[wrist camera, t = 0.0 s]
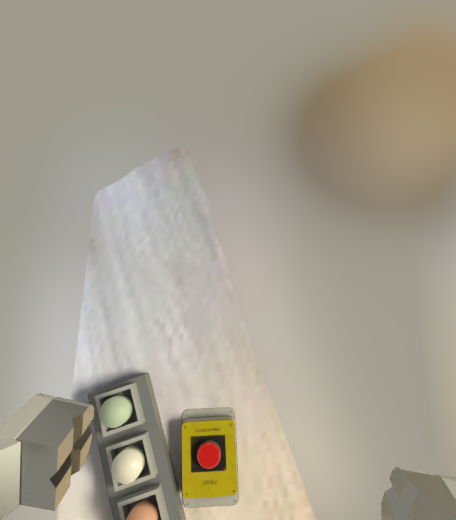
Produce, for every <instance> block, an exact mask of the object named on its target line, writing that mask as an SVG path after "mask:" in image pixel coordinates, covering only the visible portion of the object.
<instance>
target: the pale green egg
mask: <svg viewBox="0 0 456 520" xmlns="http://www.w3.org/2000/svg"><path fill="white" fill-rule="evenodd" d="M132 413H133V404H132V401H131V400H130V399H129V398H128V397H127V396H125V395H117V396H114V397H112V398H110V399H108V400H106V401H105V402H104V403H103V405H102V406H101V409H100V419H101V421H102V423H103V424H104V425H105V426H107V427H109V428H116V427H119V426H121V425H122V424H123V423H125V422H126V421H127V420H128V419H129V418H130V417H131V415H132Z"/></svg>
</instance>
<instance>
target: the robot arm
mask: <svg viewBox="0 0 456 520" xmlns="http://www.w3.org/2000/svg"><path fill="white" fill-rule="evenodd" d="M93 418H94V407H93V406H92V405H90V404H86V403H82V402H77V401H73V400H69V399H64V398H60V397H54V396H49V395H45V394H41V393H40V394H37V395H35V396H34V397H32V399H31V400H29V401H28V402H27V403H26V404H25V405H24V406H23V407H22V408H21V410H19V411H18V412H17V413H16V414H15V415H14V416H13V417H12V418H11V419H10V420H9V421H8V422H7V423H6V424H5V425H4V426H3V427H2V428H1V429H0V520H2V519H3V518H4V517H5V516H7V515H9V514H10V513H11V512H13V511H14V510H16V509H17V508H18V507H19V505H25V506H30V507H36V508H41V509H47V510H53V511H55V509H56V508H57V506H58V505H59V503H60V501H61V500H62V498H63V496H64V495H65V493H66V492H67V490H68V488H69V487H70V478H71V475H73V474H75V473H76V472H78V471H79V470H80V468H81V467H82V465H83V463H84V462H85V459H86V457H87V454H88V452H89V449H90V445H91V441H92V430H91V429H90V427H89V424H90V423H91V421H92V420H93ZM390 481H391V483H392V485H393V487H392V488H390V489H389V490H387V491H386V492H385V493H384V496H383V499H382V503H381V507H382V508H381V516H382V520H456V478H454V477H448V476H443V475H438V474H430V473H426V472H420V471H415V470H410V469H405V468H400V467H396V468H395V469H394V470H393V471H392V473H391V476H390Z"/></svg>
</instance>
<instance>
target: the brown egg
mask: <svg viewBox="0 0 456 520" xmlns="http://www.w3.org/2000/svg"><path fill="white" fill-rule="evenodd" d="M158 518H159V514H158V509H157V507H156V506H155V504H154V503H152V502H151V501H148V500H142V501H139V502H138V503H136V504H135V505H134V506H133V508H132V510H131V511H130V513H129V515H128V516H127V518H126V520H158Z"/></svg>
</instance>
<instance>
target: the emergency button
mask: <svg viewBox="0 0 456 520" xmlns="http://www.w3.org/2000/svg"><path fill="white" fill-rule="evenodd" d="M182 493H183V503H184V505H185V506H186V507H188V508H195V507H212V506H230V505H235V504H237V502H238V500H239V487H238V466H237V444H236V423H235V412H234V410H233V409H232V408H230V407H228V408H208V409H188V410H185V411H184V412H183V415H182Z"/></svg>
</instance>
